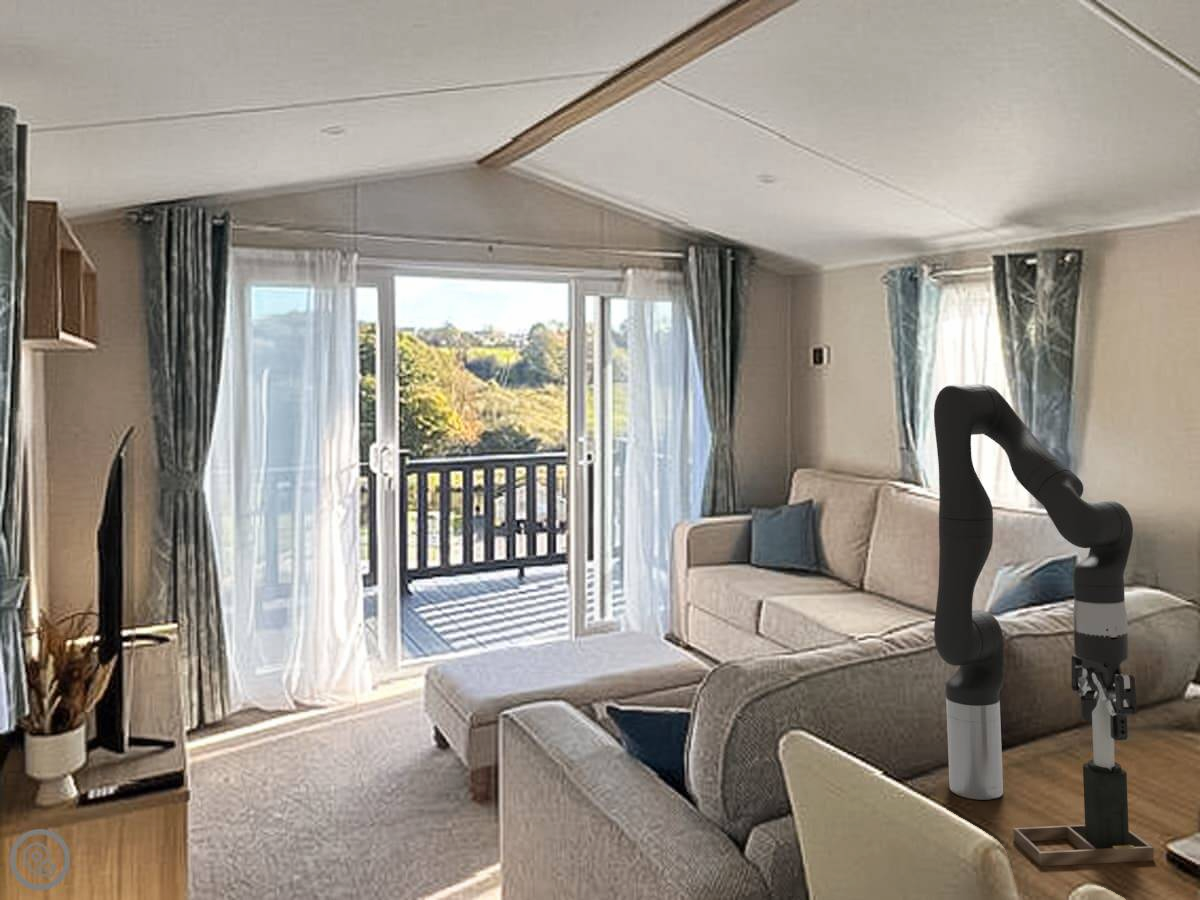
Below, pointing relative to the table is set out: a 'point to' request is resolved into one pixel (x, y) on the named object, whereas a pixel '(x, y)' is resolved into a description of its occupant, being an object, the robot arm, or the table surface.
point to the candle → (1104, 787)
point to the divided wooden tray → (1079, 847)
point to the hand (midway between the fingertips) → (1103, 730)
